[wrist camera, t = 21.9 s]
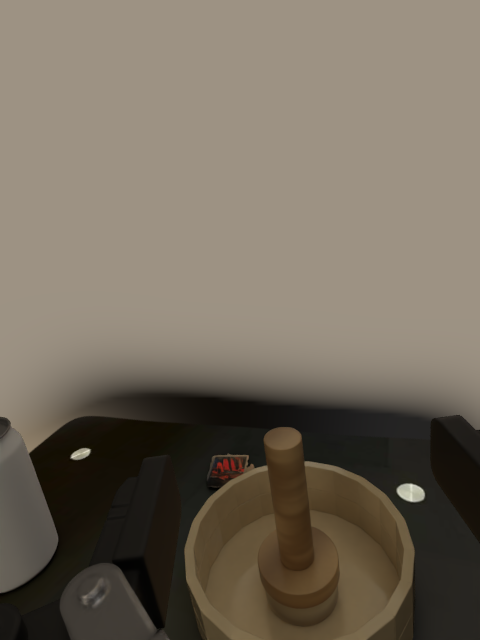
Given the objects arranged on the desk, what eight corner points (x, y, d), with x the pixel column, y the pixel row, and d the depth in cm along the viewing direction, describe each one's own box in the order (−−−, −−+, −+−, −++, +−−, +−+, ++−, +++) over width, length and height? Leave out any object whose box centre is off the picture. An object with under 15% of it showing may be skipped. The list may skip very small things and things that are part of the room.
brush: (356, 582, 27) (345, 428, 23) (312, 649, 23) (292, 481, 20) (292, 543, 30) (274, 405, 27) (247, 597, 27) (219, 446, 23)
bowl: (447, 571, 27) (449, 513, 26) (340, 804, 18) (332, 735, 16) (282, 486, 37) (276, 441, 35) (156, 609, 28) (140, 554, 26)
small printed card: (208, 493, 37) (207, 489, 37) (206, 458, 42) (206, 454, 42) (257, 484, 38) (256, 479, 37) (250, 450, 42) (250, 447, 42)
